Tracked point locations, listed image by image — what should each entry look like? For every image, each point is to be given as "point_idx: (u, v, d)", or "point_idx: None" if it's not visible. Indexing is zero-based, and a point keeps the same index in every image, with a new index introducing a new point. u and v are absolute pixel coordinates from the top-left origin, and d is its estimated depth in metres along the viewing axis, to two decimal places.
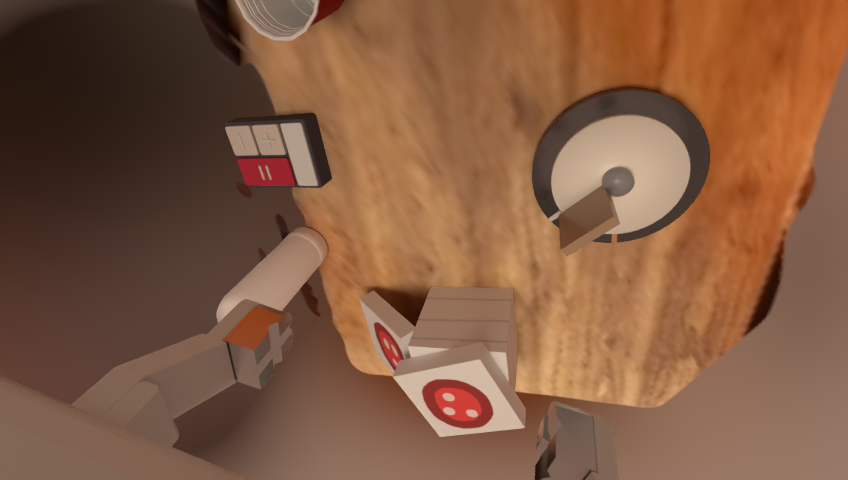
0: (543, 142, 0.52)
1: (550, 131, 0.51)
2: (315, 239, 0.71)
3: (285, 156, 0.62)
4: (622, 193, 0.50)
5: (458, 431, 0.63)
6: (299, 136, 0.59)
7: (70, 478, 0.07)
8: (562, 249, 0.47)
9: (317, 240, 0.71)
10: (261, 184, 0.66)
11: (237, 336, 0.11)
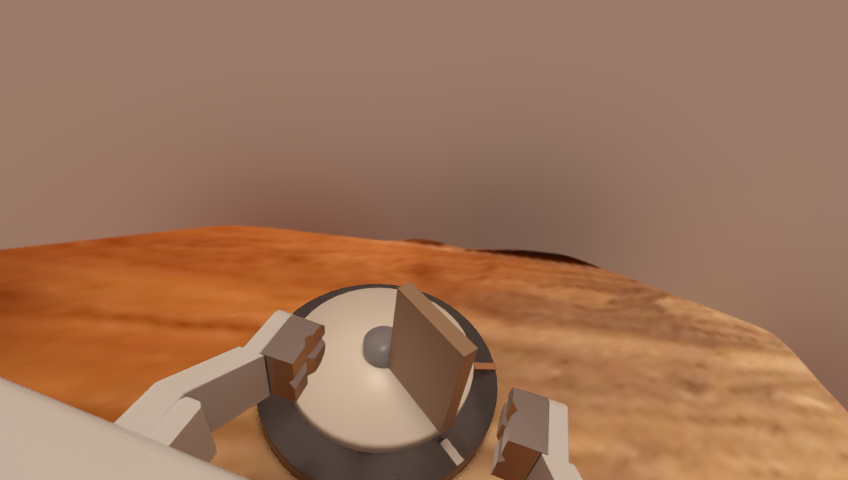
0: (299, 464, 0.28)
1: (282, 450, 0.28)
2: None
3: None
4: None
5: None
6: None
7: (70, 478, 0.07)
8: (463, 354, 0.24)
9: None
10: None
11: (274, 349, 0.11)
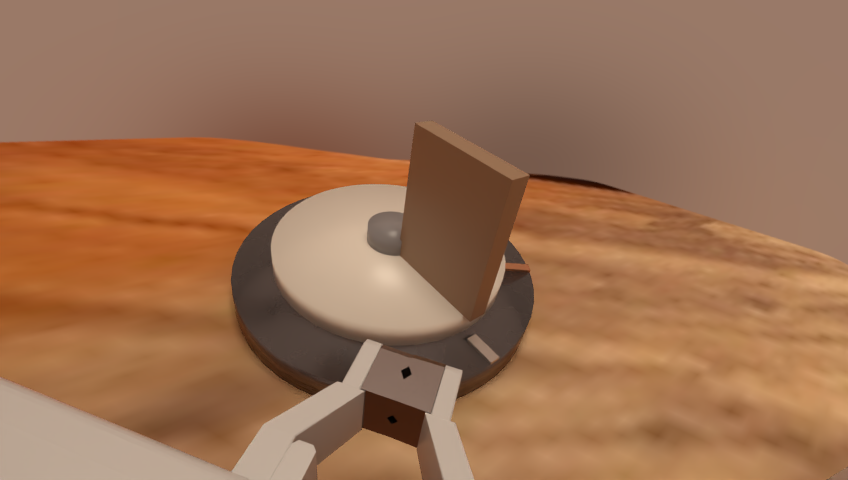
0: (284, 354, 0.21)
1: (263, 339, 0.22)
2: None
3: None
4: None
5: None
6: None
7: (70, 478, 0.07)
8: (511, 178, 0.17)
9: None
10: None
11: (373, 384, 0.10)
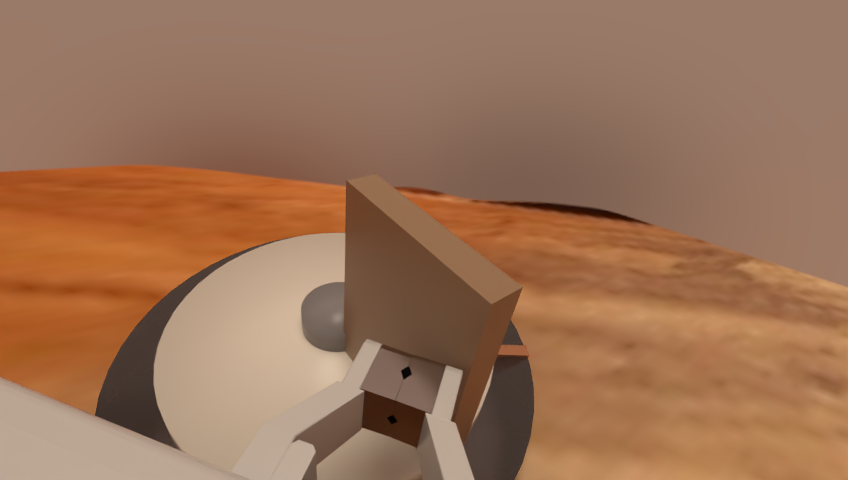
0: None
1: None
2: None
3: None
4: None
5: None
6: None
7: (70, 478, 0.07)
8: (489, 298, 0.10)
9: None
10: None
11: (373, 383, 0.10)
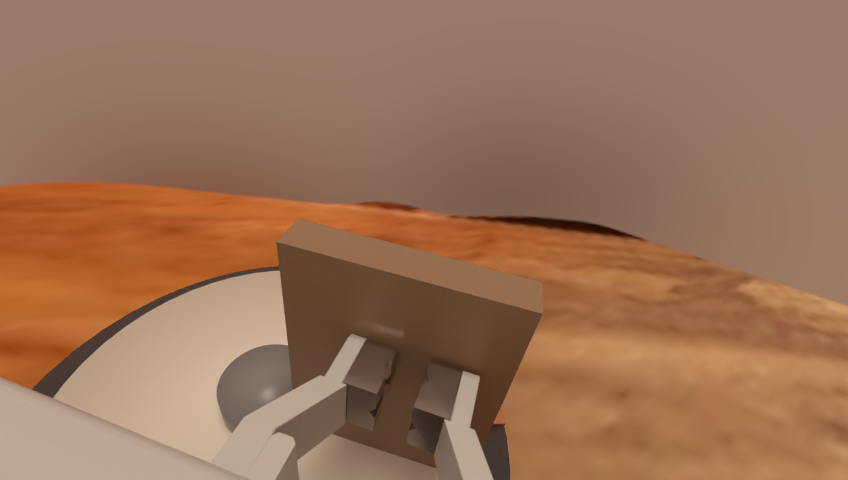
0: None
1: None
2: None
3: None
4: None
5: None
6: None
7: (70, 478, 0.07)
8: (535, 309, 0.10)
9: None
10: None
11: (356, 377, 0.10)
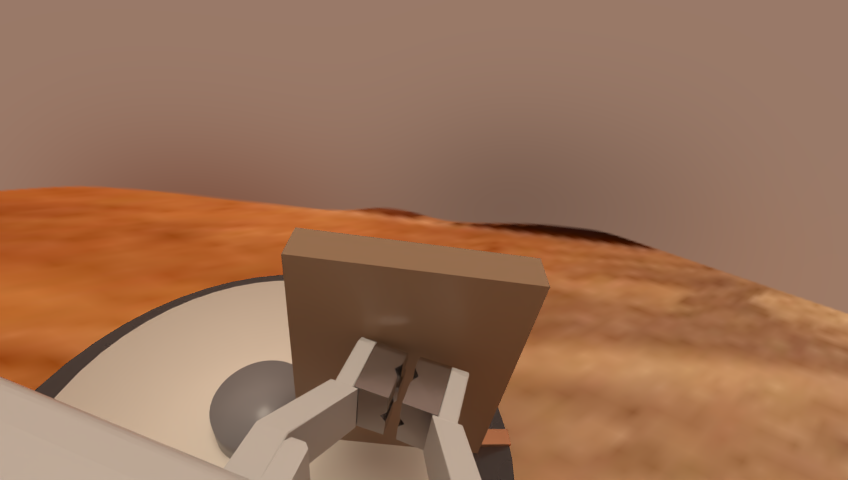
0: None
1: None
2: None
3: None
4: (285, 369, 0.16)
5: None
6: None
7: (70, 478, 0.07)
8: (542, 283, 0.10)
9: None
10: None
11: (367, 381, 0.10)
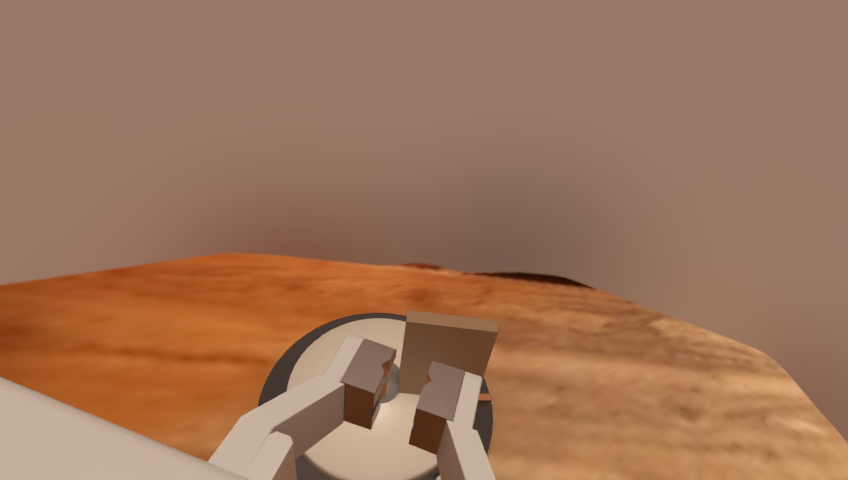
0: None
1: None
2: None
3: None
4: None
5: None
6: None
7: (70, 478, 0.07)
8: (495, 330, 0.30)
9: None
10: None
11: (354, 376, 0.10)
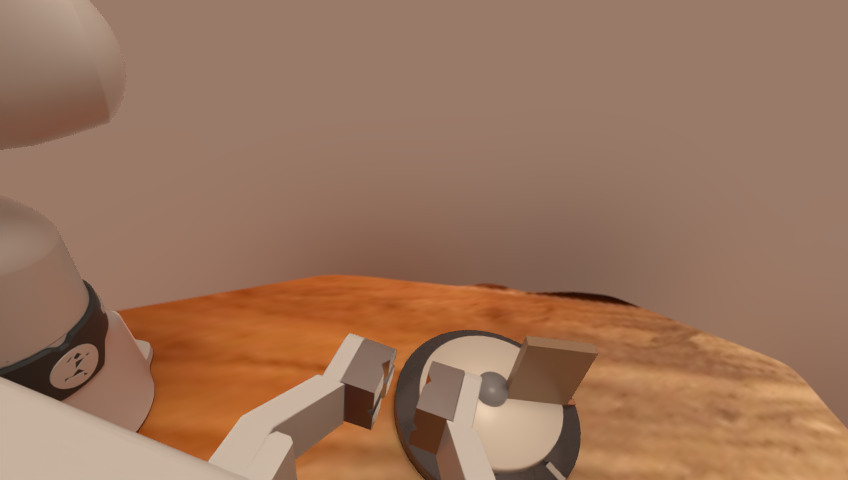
0: None
1: (433, 472, 0.38)
2: None
3: None
4: (495, 375, 0.45)
5: None
6: None
7: (70, 478, 0.07)
8: (595, 352, 0.39)
9: None
10: None
11: (354, 377, 0.10)
